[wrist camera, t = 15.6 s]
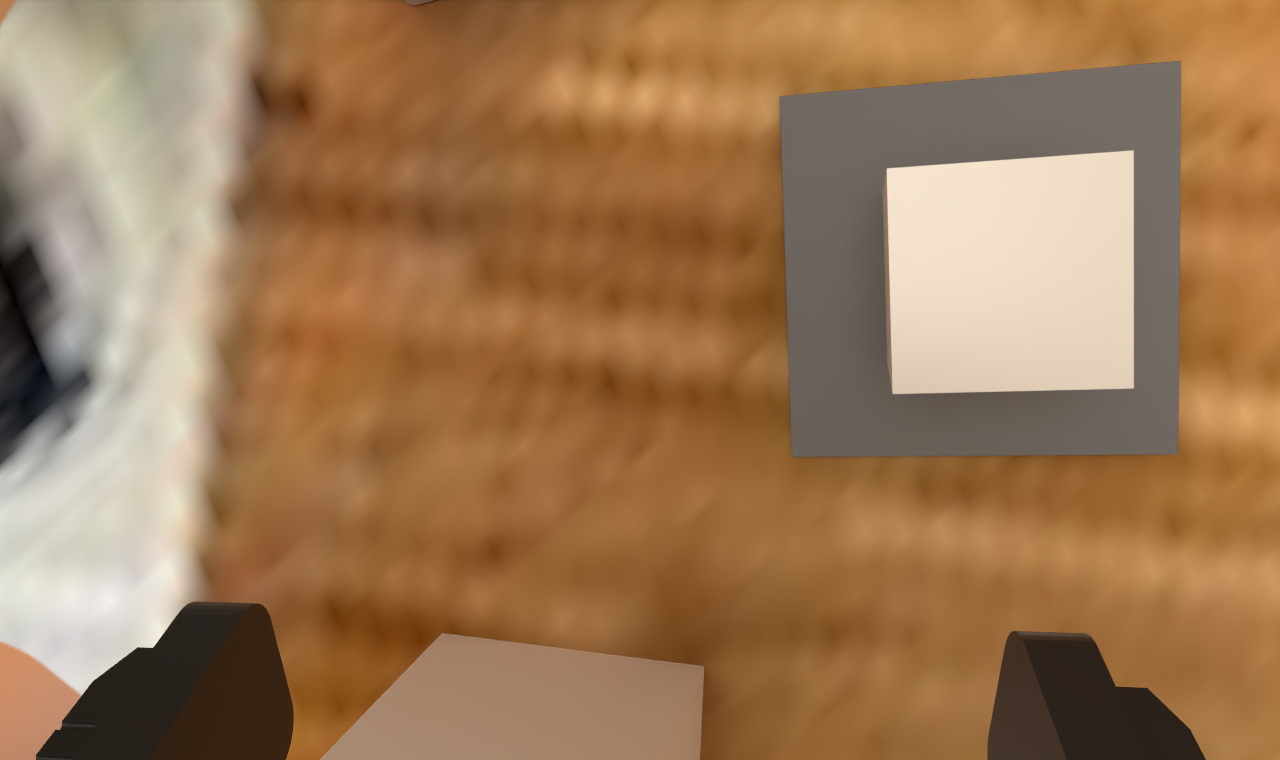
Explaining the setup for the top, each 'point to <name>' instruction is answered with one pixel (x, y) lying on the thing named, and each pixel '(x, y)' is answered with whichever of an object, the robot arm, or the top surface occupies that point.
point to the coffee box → (417, 1)
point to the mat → (855, 271)
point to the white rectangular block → (1010, 274)
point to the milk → (530, 707)
